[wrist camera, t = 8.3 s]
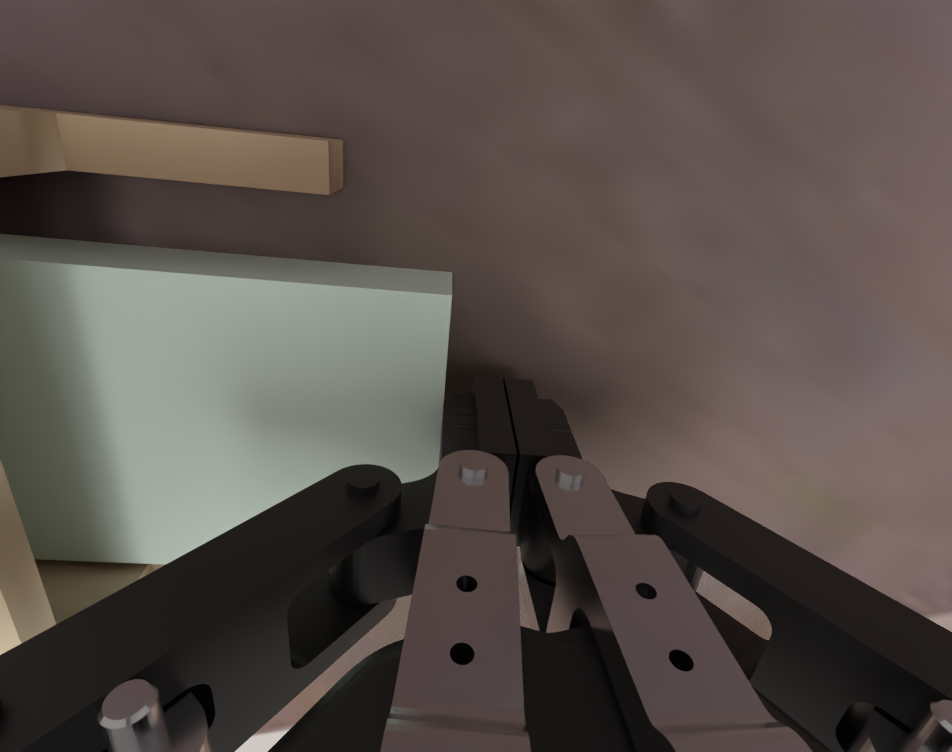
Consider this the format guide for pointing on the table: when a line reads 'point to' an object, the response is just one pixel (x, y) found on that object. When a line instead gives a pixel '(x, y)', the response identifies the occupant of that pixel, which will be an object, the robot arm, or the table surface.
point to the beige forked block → (149, 156)
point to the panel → (203, 387)
